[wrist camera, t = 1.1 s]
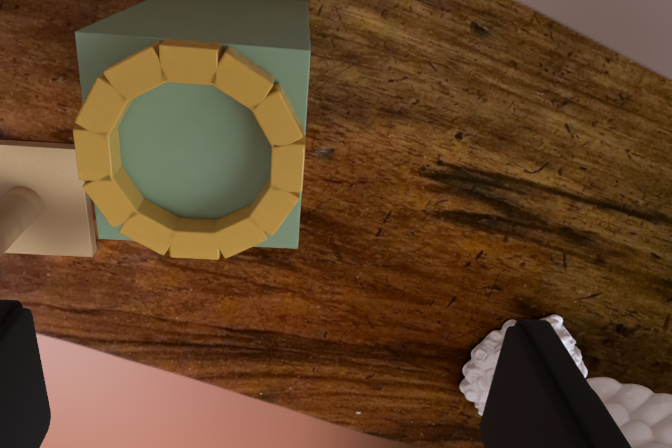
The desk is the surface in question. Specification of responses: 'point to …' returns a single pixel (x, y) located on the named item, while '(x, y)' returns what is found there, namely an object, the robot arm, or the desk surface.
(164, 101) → the stand
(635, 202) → the desk surface
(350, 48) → the desk surface
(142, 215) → the ring
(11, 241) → the post
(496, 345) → the cherub figurine
